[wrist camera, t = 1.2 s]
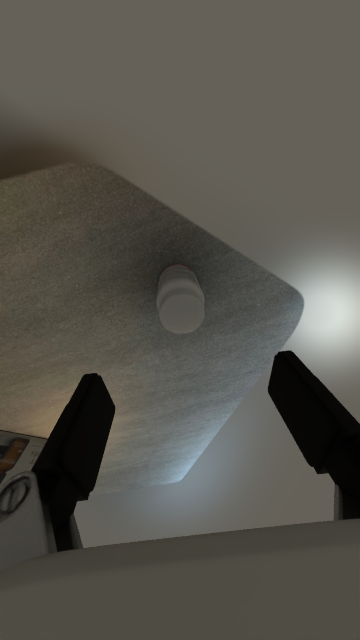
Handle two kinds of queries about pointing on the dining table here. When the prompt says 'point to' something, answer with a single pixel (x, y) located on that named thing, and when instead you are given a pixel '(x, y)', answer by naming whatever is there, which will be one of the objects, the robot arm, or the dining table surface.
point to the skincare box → (18, 454)
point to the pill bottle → (180, 300)
